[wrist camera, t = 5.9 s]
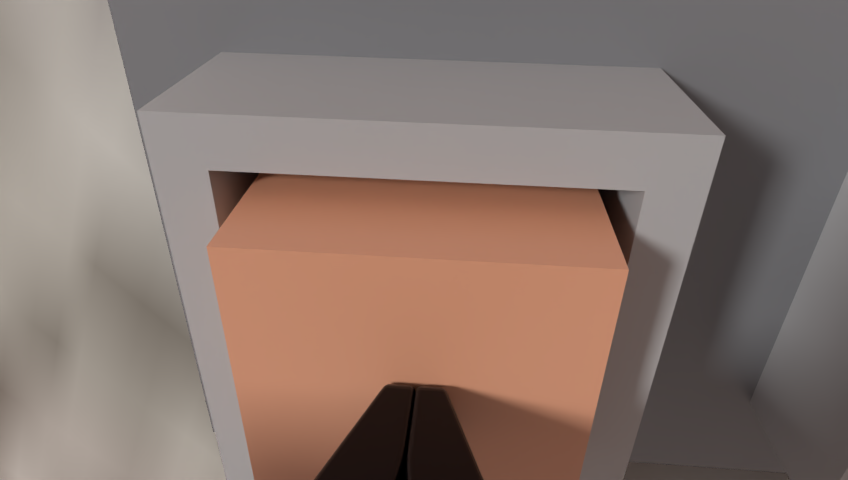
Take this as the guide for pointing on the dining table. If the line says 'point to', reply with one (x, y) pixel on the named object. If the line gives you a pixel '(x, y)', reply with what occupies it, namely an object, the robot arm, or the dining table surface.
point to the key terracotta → (418, 314)
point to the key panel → (552, 181)
